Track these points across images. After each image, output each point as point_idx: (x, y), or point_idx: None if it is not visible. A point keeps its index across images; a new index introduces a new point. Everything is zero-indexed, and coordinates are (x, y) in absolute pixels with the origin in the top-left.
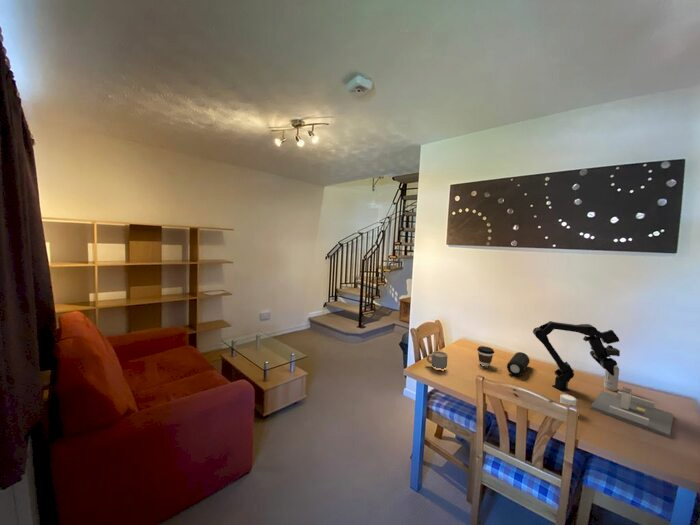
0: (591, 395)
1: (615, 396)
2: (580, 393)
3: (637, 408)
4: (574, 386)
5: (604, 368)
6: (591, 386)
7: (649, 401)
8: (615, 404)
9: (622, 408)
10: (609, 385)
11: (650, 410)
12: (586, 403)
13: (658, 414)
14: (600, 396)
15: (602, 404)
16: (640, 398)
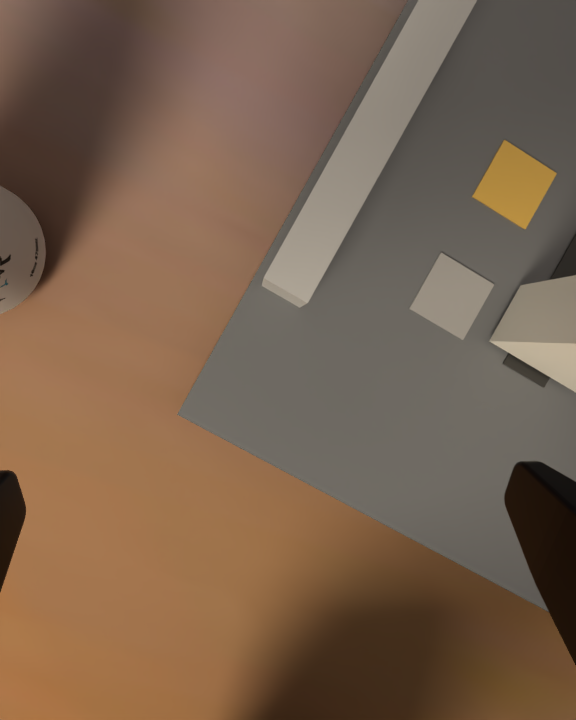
0: (303, 542)
1: (284, 318)
2: (303, 641)
3: (516, 215)
4: (127, 655)
5: (19, 525)
6: (22, 458)
7: (441, 16)
8: (508, 407)
9: None
10: (11, 280)
11: (502, 93)
12: (524, 648)
13: (564, 58)
14: (365, 491)
15: None
16: (392, 88)
